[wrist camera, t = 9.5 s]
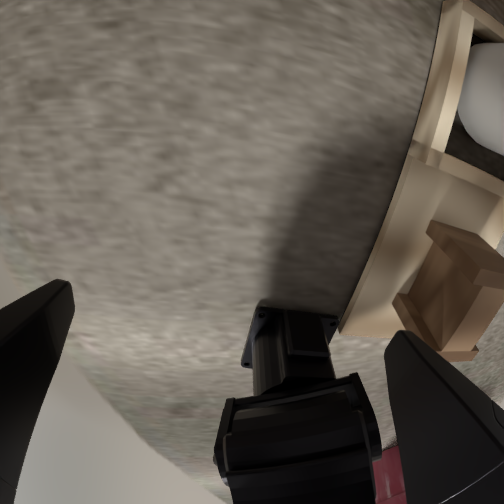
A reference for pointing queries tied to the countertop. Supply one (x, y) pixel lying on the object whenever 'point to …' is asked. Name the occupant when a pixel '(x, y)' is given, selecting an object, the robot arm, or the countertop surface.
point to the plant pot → (389, 478)
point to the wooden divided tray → (438, 220)
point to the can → (484, 96)
